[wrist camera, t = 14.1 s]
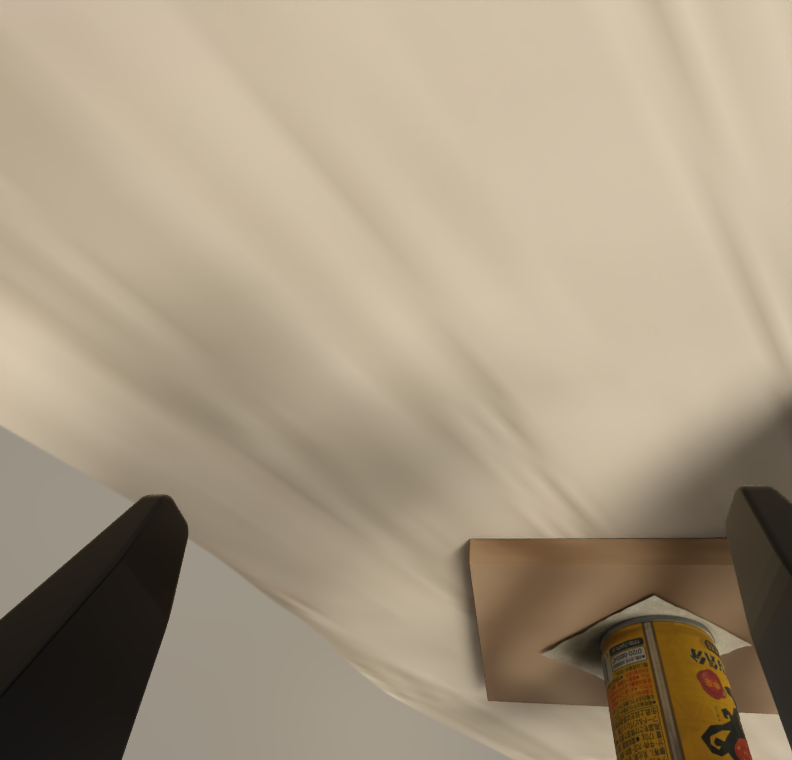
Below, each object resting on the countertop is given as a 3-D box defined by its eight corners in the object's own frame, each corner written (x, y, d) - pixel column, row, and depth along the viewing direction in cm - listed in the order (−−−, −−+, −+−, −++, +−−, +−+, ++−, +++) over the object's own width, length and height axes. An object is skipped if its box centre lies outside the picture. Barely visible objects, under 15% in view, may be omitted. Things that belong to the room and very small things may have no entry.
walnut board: (852, 538, 28) (867, 565, 27) (771, 689, 38) (780, 714, 37) (469, 539, 31) (469, 563, 30) (487, 678, 41) (487, 700, 40)
